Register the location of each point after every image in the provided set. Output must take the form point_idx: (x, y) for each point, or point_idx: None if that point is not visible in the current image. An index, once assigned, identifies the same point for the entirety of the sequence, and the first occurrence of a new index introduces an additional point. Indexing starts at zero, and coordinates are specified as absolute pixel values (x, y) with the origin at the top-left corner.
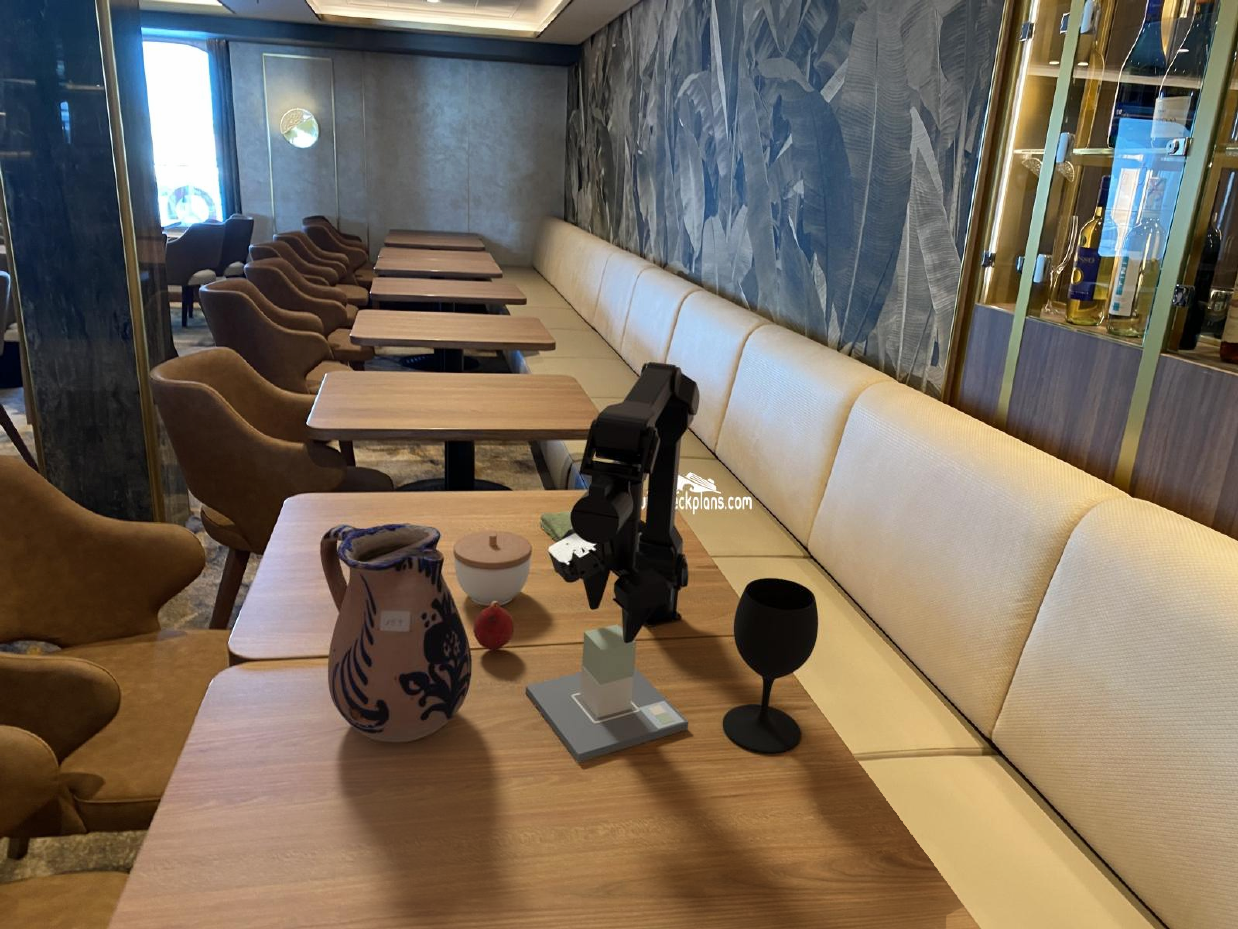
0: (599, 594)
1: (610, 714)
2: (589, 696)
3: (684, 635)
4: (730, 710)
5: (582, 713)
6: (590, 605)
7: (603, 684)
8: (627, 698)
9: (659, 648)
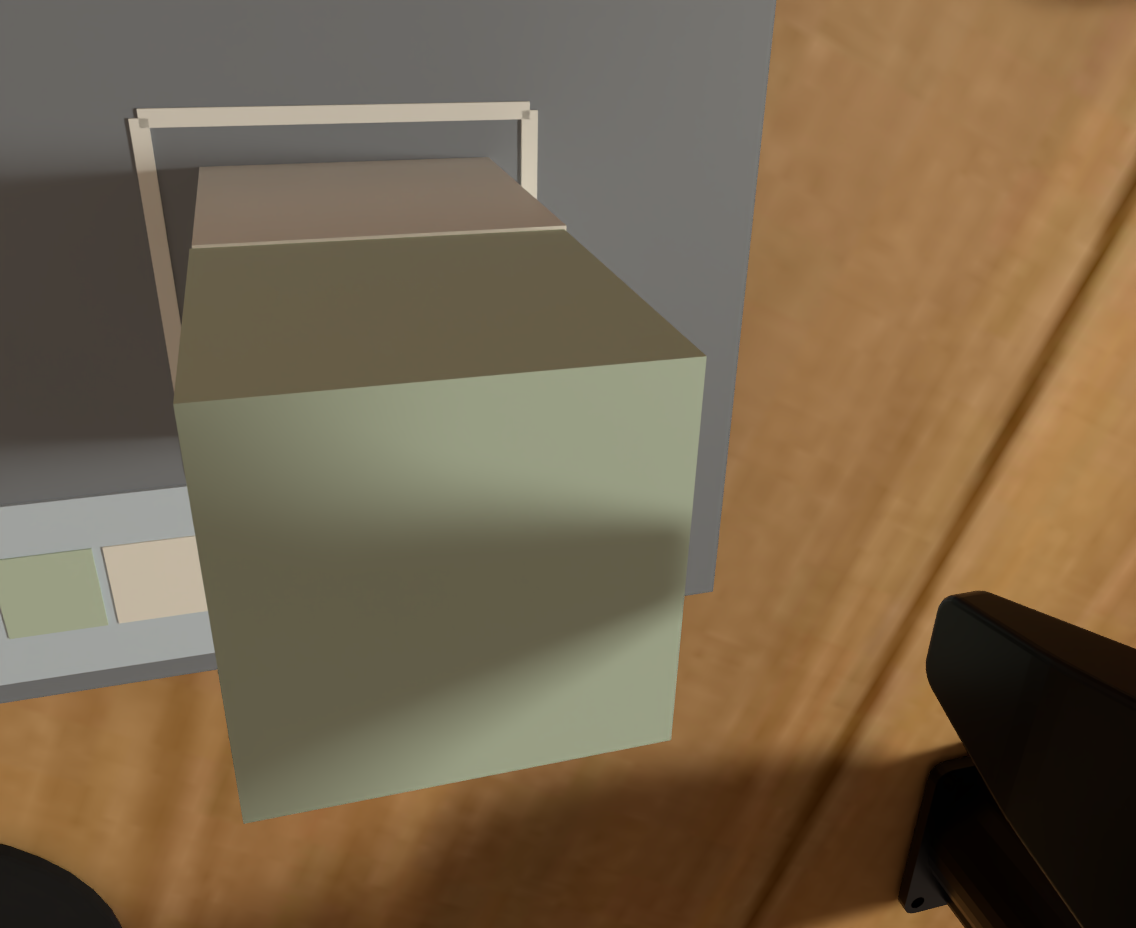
0: (1066, 832)
1: None
2: (355, 184)
3: (791, 879)
4: (92, 914)
5: (291, 83)
6: (994, 620)
7: None
8: None
9: (761, 757)
